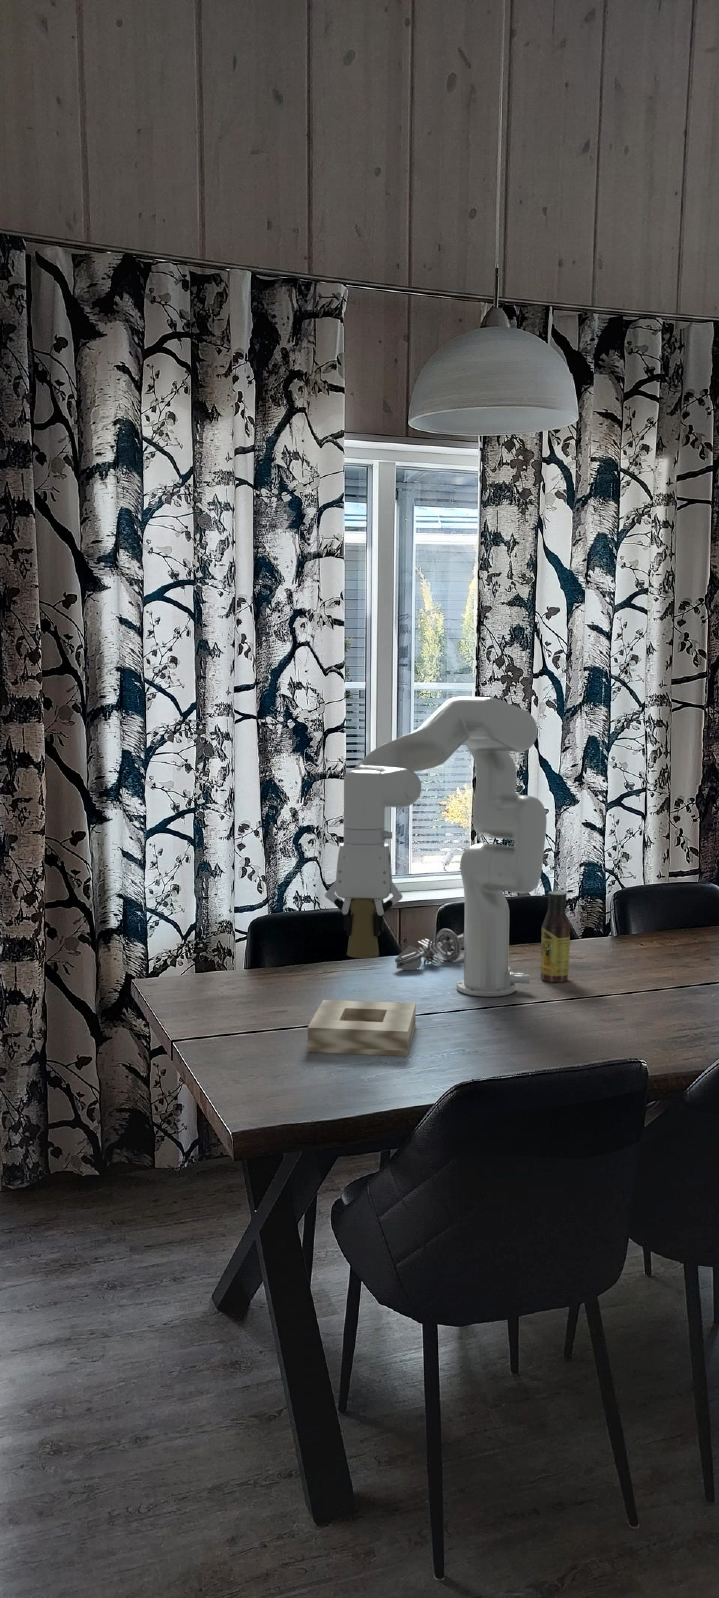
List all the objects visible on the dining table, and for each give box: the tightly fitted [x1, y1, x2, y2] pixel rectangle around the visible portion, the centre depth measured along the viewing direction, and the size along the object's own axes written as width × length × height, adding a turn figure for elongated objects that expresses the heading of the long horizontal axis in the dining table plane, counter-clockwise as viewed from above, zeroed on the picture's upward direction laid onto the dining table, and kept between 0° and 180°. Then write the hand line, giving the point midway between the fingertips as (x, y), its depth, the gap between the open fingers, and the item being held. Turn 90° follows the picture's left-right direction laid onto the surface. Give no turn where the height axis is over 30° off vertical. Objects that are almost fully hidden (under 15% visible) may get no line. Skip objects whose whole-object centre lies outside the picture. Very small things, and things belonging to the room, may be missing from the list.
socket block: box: [307, 999, 417, 1057], centre depth 216 cm, size 18×18×4 cm
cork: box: [346, 899, 380, 959], centre depth 215 cm, size 6×6×11 cm
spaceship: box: [393, 928, 464, 971], centre depth 275 cm, size 8×35×8 cm
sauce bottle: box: [539, 890, 571, 983], centre depth 257 cm, size 7×6×20 cm
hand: (363, 933), depth 215 cm, fingers closed on cork, 4 cm apart
